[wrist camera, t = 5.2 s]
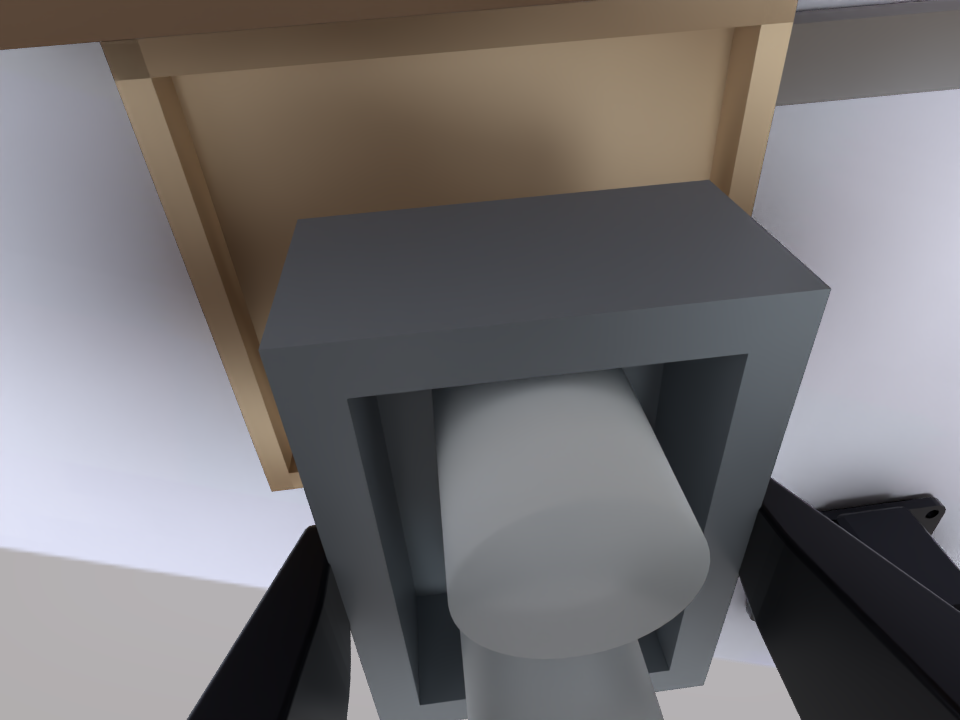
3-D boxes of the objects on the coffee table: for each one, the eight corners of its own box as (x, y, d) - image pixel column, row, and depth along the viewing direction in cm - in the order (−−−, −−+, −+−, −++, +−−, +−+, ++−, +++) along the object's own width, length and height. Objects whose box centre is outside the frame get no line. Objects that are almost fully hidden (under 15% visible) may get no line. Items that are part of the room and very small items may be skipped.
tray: (648, 543, 13) (741, 781, 10) (385, 577, 13) (381, 836, 9) (708, 180, 9) (936, 382, 5) (297, 219, 8) (223, 465, 5)
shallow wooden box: (1146, 339, 20) (1385, 479, 15) (281, 445, 18) (242, 639, 14) (1446, -84, 13) (2039, -72, 9) (135, 24, 12) (-40, 113, 7)
